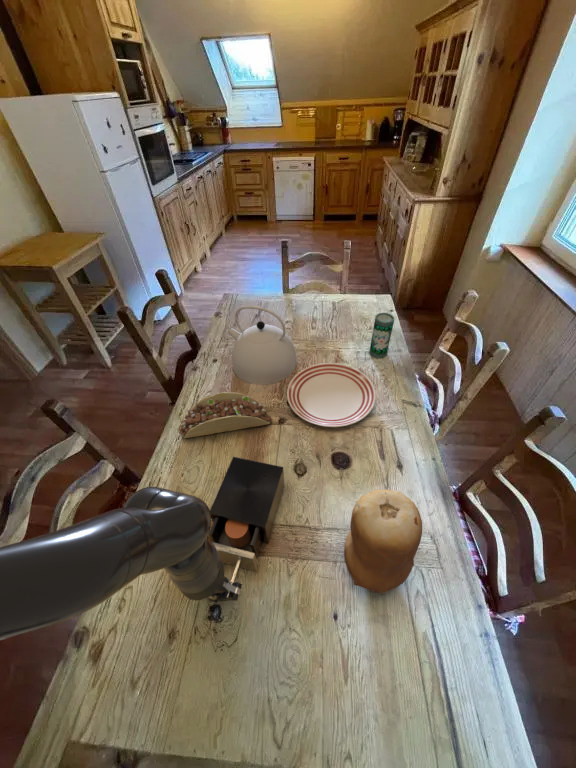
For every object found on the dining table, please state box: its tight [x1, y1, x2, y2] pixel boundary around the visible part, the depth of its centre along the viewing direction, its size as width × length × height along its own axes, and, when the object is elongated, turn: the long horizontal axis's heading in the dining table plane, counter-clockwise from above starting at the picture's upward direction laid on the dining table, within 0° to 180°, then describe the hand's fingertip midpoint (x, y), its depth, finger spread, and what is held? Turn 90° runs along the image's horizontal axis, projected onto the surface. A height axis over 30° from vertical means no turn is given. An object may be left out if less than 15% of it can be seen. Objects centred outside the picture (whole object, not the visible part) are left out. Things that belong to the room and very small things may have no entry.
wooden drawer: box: [208, 517, 263, 583], centre depth 73 cm, size 19×11×7 cm, turn 166°
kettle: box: [226, 305, 297, 386], centre depth 114 cm, size 25×23×22 cm
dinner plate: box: [286, 362, 377, 428], centre depth 107 cm, size 28×27×3 cm
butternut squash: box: [343, 489, 423, 595], centre depth 64 cm, size 14×13×25 cm
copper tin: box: [225, 520, 251, 547], centre depth 74 cm, size 5×5×5 cm
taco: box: [178, 392, 272, 439], centre depth 97 cm, size 10×27×10 cm, turn 101°
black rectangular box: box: [209, 456, 286, 545], centre depth 80 cm, size 15×13×9 cm
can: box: [368, 312, 395, 359], centre depth 118 cm, size 6×6×15 cm
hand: (215, 596), depth 66 cm, fingers closed
